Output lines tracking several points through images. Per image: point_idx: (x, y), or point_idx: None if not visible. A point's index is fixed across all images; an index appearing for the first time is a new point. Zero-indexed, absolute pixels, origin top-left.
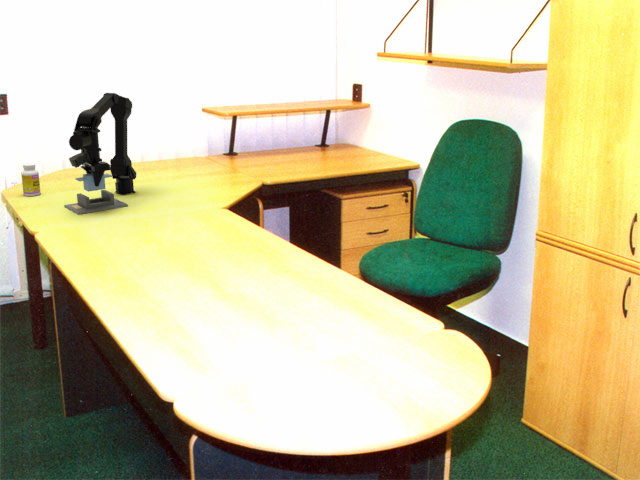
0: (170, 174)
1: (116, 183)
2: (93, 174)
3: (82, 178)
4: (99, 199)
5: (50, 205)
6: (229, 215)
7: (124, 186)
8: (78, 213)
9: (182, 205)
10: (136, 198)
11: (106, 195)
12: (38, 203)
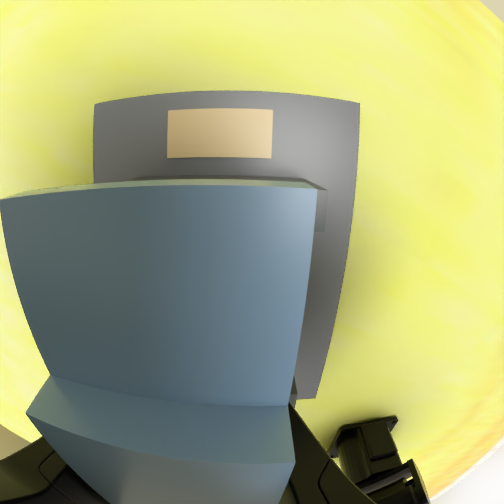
0: None
1: (384, 452)
2: (15, 469)
3: (117, 339)
4: None
5: (433, 77)
6: (8, 427)
7: (350, 459)
8: (98, 104)
9: None
10: None
11: None
12: (486, 72)
